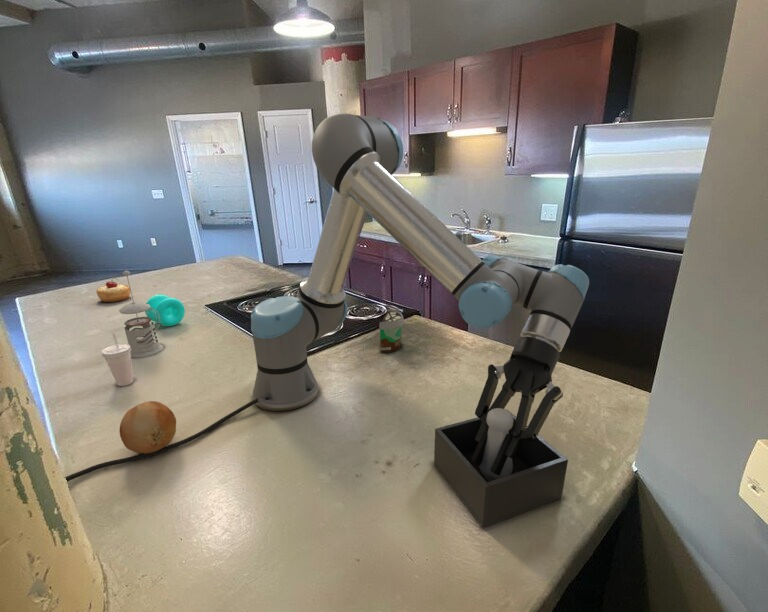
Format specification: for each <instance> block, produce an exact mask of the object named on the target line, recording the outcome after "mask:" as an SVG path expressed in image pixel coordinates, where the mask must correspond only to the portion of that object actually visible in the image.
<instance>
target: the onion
mask: <svg viewBox="0 0 768 612" xmlns="http://www.w3.org/2000/svg"><path fill="white" fill-rule="evenodd" d="M176 431H177V418H176V416H175V414H174V412H173V410H172V409H170V408H169V407H168V406H167V405H166V404H164V403H162V402H160V401H156V400H149V401H144V402H141V403H139V404H137V405H135V406H133V407H131V408H129V409H128V410H127V411H126V412H125V413H124V415H123V417H122V419H121V421H120V423H119V437H120V440H121V443H122V444H123V445H124V447H125V448H126V449H128V450H129V451H131V452H134V453H135V454H147V453H153V452H156V451H158V450H160V449H162V448H164V447H165V446H168V445H170V443H171V442H172V440H173V439H174V437H175V435H176Z"/></svg>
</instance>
